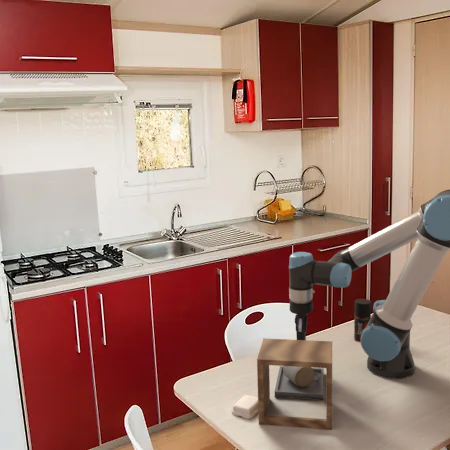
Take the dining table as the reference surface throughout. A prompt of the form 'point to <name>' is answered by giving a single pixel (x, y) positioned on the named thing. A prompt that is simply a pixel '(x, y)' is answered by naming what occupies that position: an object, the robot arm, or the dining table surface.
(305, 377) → the ceramic mug
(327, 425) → the wooden cube shelf
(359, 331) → the deodorant
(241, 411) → the soap
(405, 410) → the dining table surface
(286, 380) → the tray
